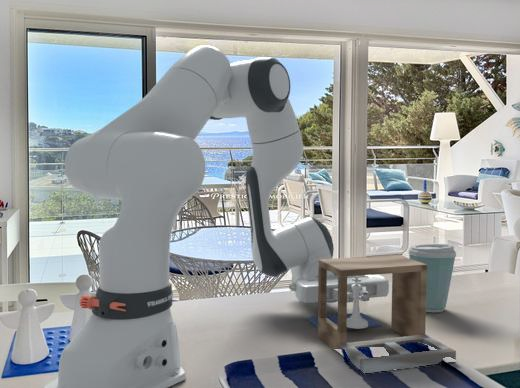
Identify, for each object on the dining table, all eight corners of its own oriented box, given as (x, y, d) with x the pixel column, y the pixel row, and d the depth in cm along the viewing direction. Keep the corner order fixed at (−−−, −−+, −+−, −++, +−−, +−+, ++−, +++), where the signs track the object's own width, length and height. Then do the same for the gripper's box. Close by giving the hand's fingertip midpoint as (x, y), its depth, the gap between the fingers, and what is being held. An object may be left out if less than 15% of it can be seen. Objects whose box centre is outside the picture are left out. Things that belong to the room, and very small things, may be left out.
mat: (307, 319, 117) (307, 317, 117) (361, 313, 121) (361, 312, 121) (324, 332, 108) (324, 330, 108) (381, 326, 112) (381, 324, 112)
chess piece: (351, 319, 113) (351, 272, 112) (372, 324, 110) (373, 275, 109) (338, 325, 109) (339, 276, 108) (360, 330, 106) (361, 280, 105)
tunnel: (317, 336, 106) (318, 259, 105) (396, 328, 111) (398, 254, 110) (364, 374, 88) (365, 281, 86) (455, 362, 93) (458, 274, 91)
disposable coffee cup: (401, 311, 122) (403, 246, 121) (411, 300, 132) (413, 239, 131) (451, 318, 117) (453, 249, 116) (457, 306, 127) (459, 242, 126)
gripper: (285, 270, 118) (310, 286, 105) (370, 265, 124) (403, 278, 111) (285, 299, 118) (309, 317, 105) (369, 292, 124) (402, 309, 111)
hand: (358, 297), depth 108 cm, fingers closed on chess piece, 2 cm apart
